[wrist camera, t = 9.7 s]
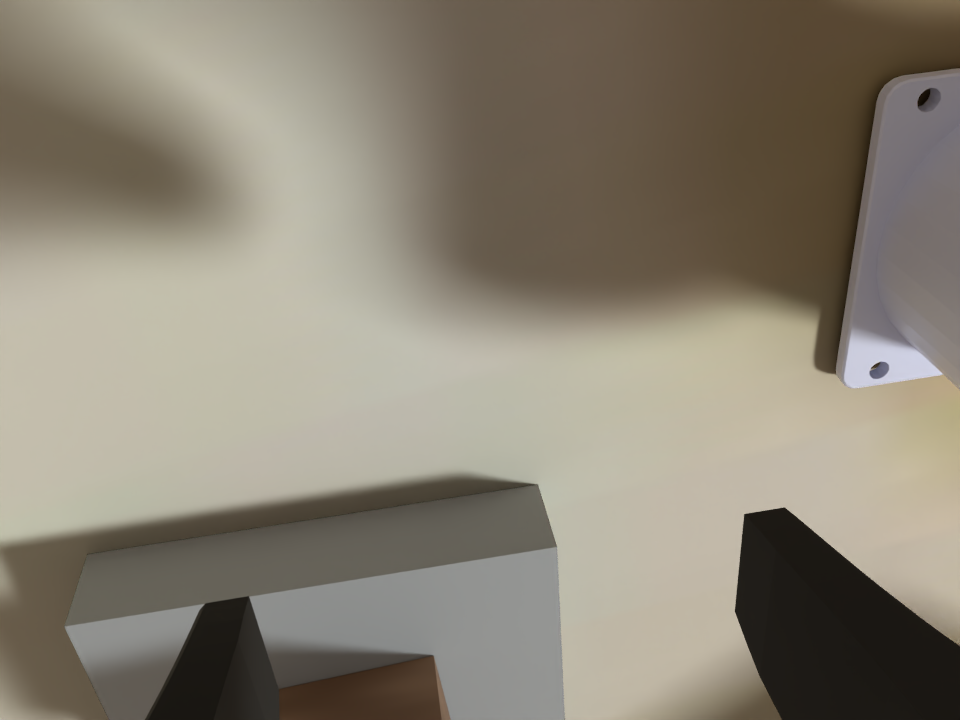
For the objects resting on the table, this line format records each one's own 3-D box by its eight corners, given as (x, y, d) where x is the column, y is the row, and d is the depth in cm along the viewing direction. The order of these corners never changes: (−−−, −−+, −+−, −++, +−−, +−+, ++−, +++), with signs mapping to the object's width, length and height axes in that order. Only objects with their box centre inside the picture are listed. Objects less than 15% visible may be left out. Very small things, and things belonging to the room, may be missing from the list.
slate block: (533, 471, 25) (556, 546, 22) (549, 737, 31) (569, 819, 29) (92, 539, 24) (64, 626, 21) (202, 799, 30) (190, 890, 28)
